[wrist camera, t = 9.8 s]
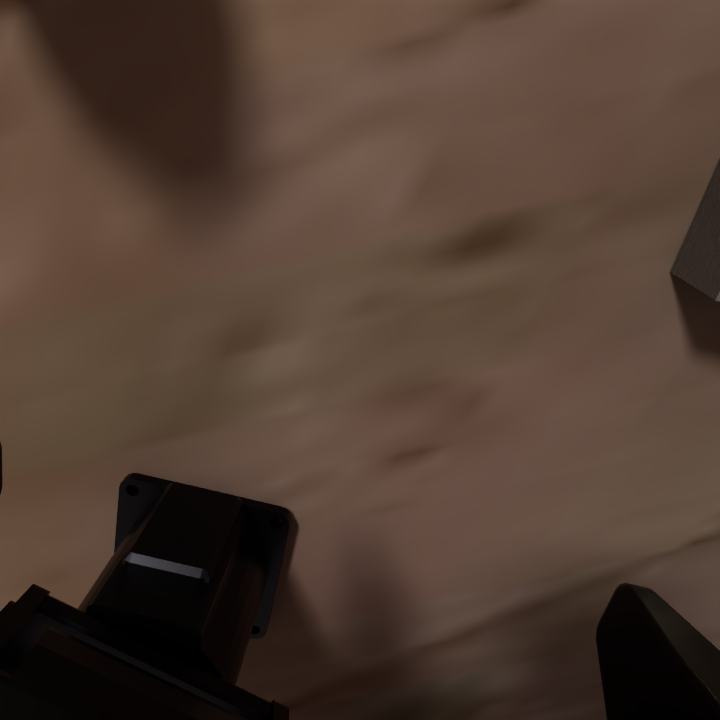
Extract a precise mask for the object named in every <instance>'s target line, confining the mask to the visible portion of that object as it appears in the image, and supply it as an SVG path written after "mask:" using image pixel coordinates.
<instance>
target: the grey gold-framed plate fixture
mask: <svg viewBox="0 0 720 720" xmlns="http://www.w3.org/2000/svg"><path fill="white" fill-rule="evenodd" d="M670 272H671V273H672V274H674V275H676V276H677V277H679V278H680V279H682V280H684V281H685V282H687V283H688V284H690V285H691V286H693V287H695V288H696V289H698V290H699V291H701V292H703V293H704V294H706V295H707V296H709V297H710V298H712V299H714V300H715V301H719V302H720V160H719V162H718V164H717V166H716V169H715V171H714V173H713V175H712V178H711V180H710V182H709V185H708V187H707V189H706V191H705V194H704V196H703V198H702V201H701V203H700V205H699V207H698V210H697V212H696V214H695V217H694V219H693V221H692V223H691V226H690V228H689V230H688V233H687V235H686V237H685V239H684V242H683V244H682V246H681V249H680V251H679V253H678V255H677V258H676V260H675V262H674V265H673V267H672V269H671V271H670Z"/></svg>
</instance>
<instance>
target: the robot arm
mask: <svg viewBox="0 0 720 720" xmlns="http://www.w3.org/2000/svg"><path fill="white" fill-rule="evenodd" d="M131 485H135V486H137V488H138V489H139V490H136V489H134V488H132V486H131ZM1 490H2V446H1V443H0V494H1ZM273 518H278V519H280V520H281V521H282V522H275V521H274V520H273ZM290 523H291V515H290V513H289V511H288V510H287V509H285V508H283V507H281V506H276V505H272V504H268V503H263V502H259V501H255V500H250V499H246V498H242V497H238V496H234V495H230V494H225V493H221V492H217V491H212V490H208V489H204V488H199V487H195V486H191V485H186V484H182V483H178V482H173V481H169V480H164V479H160V478H156V477H151V476H147V475H143V474H138V473H132V474H128V475H127V476H126V477H125V478H124V480H123V481H122V482H121V484H120V487H119V498H118V511H117V524H116V537H115V550H114V555H113V556H112V558H111V559H110V561H109V562H108V564H107V565H106V567H105V568H104V570H103V571H102V573H101V574H100V576H99V577H98V579H97V580H96V582H95V583H94V585H93V586H92V588H91V589H90V591H89V592H88V594H87V595H86V597H85V598H84V600H83V601H82V603H81V604H80V606H79V607H78V609H76V608H74V607H72V606H70V605H68V604H66V603H64V602H62V601H60V600H58V599H56V598H54V597H52V596H50V595H49V593H50V591H48V590H46V589H43V588H41V587H39V586H37V585H35V584H33V585H32V586H31V587H30V588H29V589H28V590H27V591H26V592H25V593H24V594H23V595H22V596H21V597H20V598H19V599H18V601H17V602H16V603H15V602H13V601H10V602H9V603H8V604H7V605H6V606H5V607H4V608H3V609H2V610H1V611H0V720H289V707H287V706H285V705H282V704H280V703H278V702H276V701H274V700H273V701H272V702H268V701H266V700H264V699H262V698H260V697H258V696H256V695H254V694H252V693H250V692H248V691H246V690H244V689H242V688H240V687H238V686H235V684H236V681H237V678H238V674H239V671H240V668H241V665H242V661H243V658H244V655H245V651H246V648H247V645H248V641H249V638H255V639H258V638H262V637H263V636H264V635H265V633H266V631H267V627H268V623H269V619H270V614H271V610H272V605H273V601H274V596H275V591H276V587H277V582H278V578H279V573H280V569H281V564H282V559H283V555H284V550H285V546H286V541H287V537H288V532H289V527H290ZM253 625H256V626H258V627H256V626H253ZM596 643H597V650H598V657H599V665H600V672H601V679H602V686H603V694H604V701H605V708H606V715H607V720H720V651H719V650H718V649H717V648H716V647H715V646H714V645H713V644H712V643H711V642H710V641H708V640H707V639H706V638H705V637H704V636H703V635H702V634H701V633H700V632H698V631H697V630H696V629H695V628H694V627H693V626H692V625H691V624H690V623H689V622H687V621H686V620H685V619H684V618H683V617H682V616H681V615H680V614H679V613H677V612H676V611H675V610H674V609H673V608H672V607H671V606H670V605H669V604H668V603H666V602H665V601H664V600H663V599H662V598H661V597H660V596H659V595H658V594H657V593H655V592H654V591H653V590H651V589H649V588H646V587H642V586H638V585H633V584H629V583H623V584H620V585H619V586H618V587H617V588H616V590H615V591H614V593H613V595H612V597H611V599H610V601H609V603H608V605H607V607H606V609H605V611H604V613H603V615H602V617H601V619H600V621H599V623H598V626H597V632H596Z"/></svg>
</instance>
